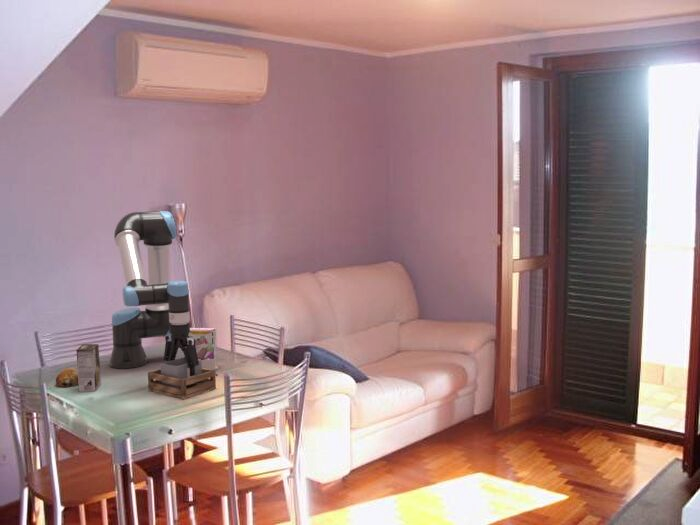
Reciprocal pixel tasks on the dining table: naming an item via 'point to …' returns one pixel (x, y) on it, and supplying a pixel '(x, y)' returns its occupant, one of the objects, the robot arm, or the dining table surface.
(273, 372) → the dining table surface
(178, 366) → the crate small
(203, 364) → the architectural model
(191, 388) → the crate big
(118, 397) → the dining table surface
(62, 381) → the bread roll
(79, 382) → the coffee box
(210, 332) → the candy bar box
